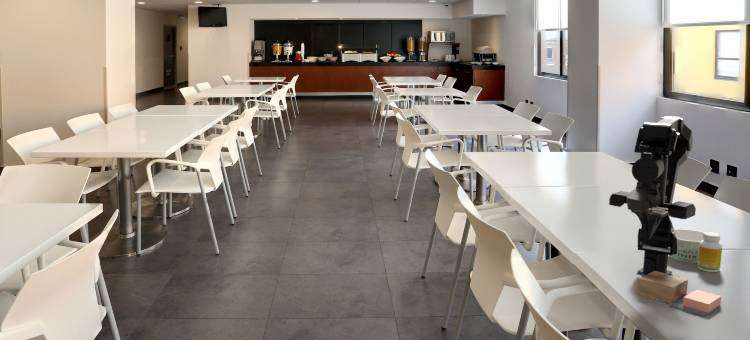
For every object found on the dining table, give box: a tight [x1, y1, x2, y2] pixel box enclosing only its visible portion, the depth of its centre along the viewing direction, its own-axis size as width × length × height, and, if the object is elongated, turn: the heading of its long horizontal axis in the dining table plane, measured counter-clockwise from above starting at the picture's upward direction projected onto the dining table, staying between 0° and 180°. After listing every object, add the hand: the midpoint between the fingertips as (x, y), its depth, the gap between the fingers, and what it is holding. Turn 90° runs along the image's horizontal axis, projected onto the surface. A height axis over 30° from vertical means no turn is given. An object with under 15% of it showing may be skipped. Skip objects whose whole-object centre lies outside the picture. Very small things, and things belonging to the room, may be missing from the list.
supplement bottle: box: [696, 231, 723, 273], centre depth 172 cm, size 5×5×10 cm
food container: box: [668, 228, 704, 264], centre depth 182 cm, size 12×12×7 cm
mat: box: [669, 296, 721, 317], centre depth 149 cm, size 9×8×1 cm
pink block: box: [683, 289, 722, 314], centre depth 148 cm, size 7×6×2 cm
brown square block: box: [637, 271, 689, 305], centre depth 155 cm, size 8×8×4 cm
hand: (648, 239), depth 157 cm, fingers closed
